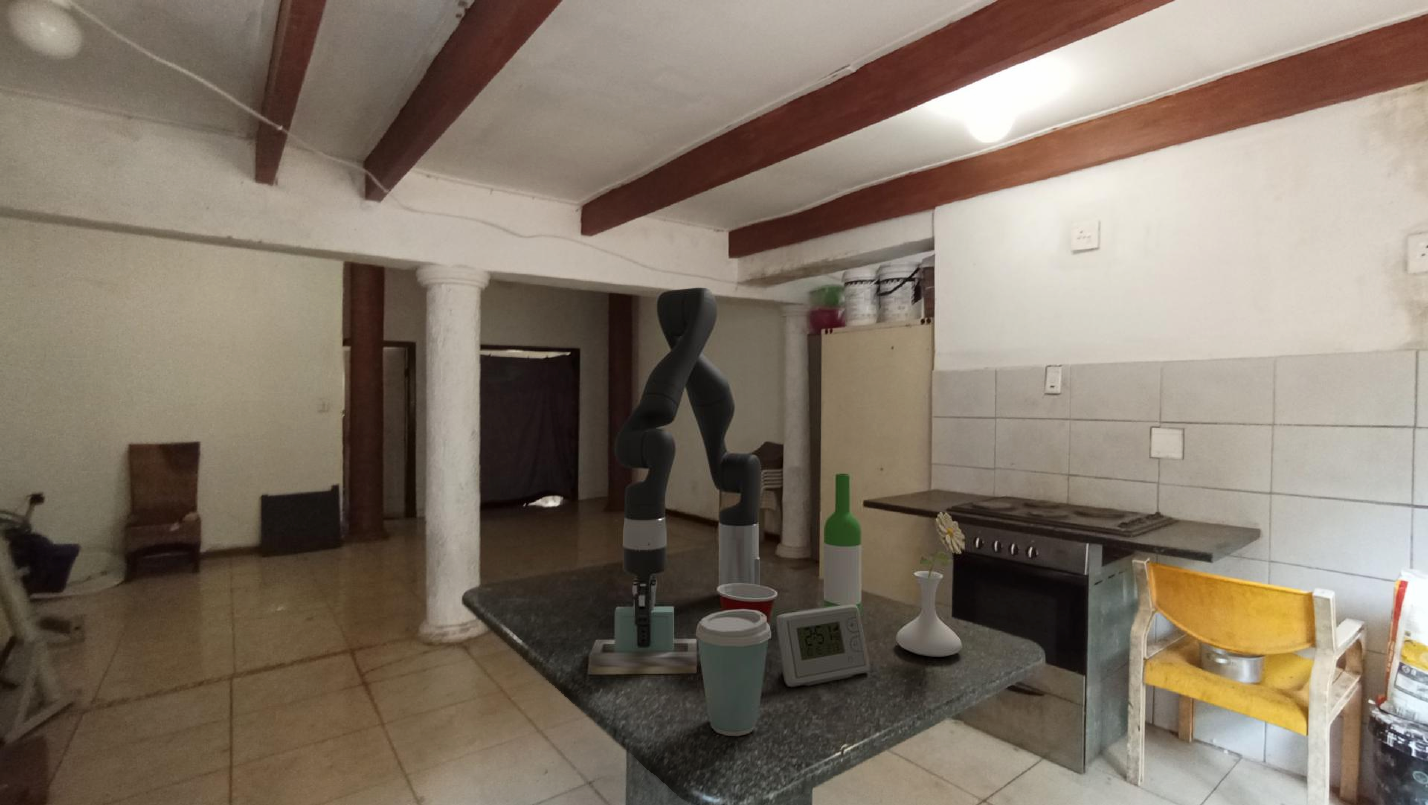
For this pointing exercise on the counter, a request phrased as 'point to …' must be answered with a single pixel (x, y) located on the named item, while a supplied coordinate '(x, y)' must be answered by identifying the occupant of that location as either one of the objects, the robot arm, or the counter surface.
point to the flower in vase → (933, 600)
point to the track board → (643, 659)
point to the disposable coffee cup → (733, 667)
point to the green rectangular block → (658, 630)
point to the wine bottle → (842, 551)
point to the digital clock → (821, 645)
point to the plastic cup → (747, 597)
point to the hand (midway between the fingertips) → (644, 641)
